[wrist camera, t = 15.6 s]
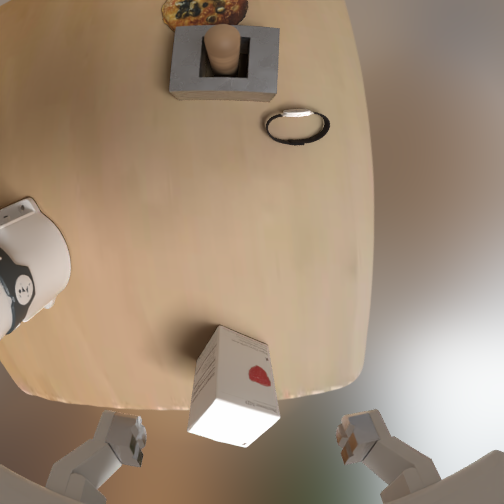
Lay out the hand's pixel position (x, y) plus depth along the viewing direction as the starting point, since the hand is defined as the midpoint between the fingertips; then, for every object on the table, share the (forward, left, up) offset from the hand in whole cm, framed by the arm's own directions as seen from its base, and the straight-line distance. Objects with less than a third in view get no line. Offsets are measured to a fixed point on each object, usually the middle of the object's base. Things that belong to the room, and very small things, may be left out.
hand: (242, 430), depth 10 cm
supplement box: (0, -21, -29) cm, 36 cm away
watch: (+7, +13, -30) cm, 33 cm away
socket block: (-2, +20, -29) cm, 35 cm away
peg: (-2, +20, -29) cm, 35 cm away
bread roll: (-6, +30, -30) cm, 42 cm away
